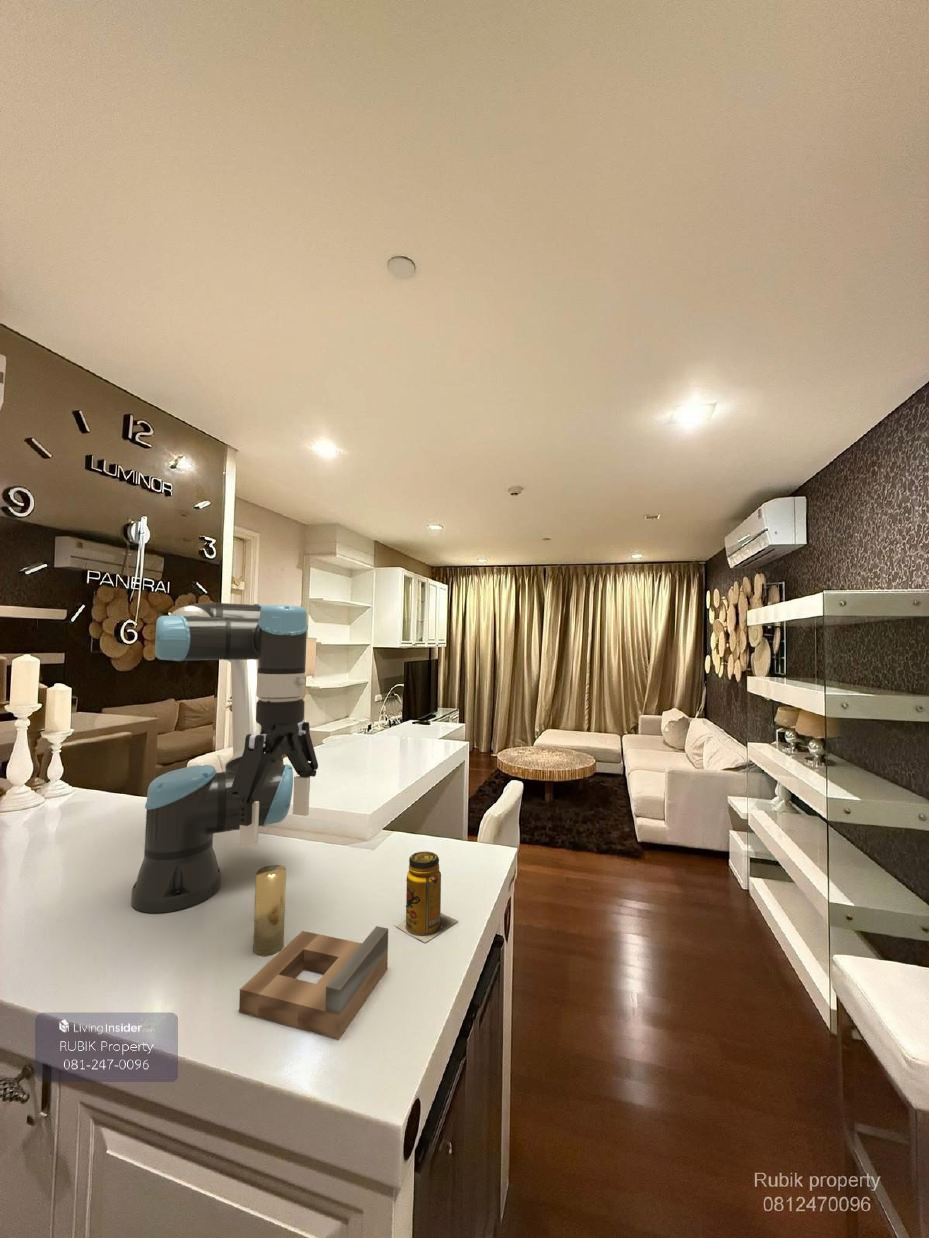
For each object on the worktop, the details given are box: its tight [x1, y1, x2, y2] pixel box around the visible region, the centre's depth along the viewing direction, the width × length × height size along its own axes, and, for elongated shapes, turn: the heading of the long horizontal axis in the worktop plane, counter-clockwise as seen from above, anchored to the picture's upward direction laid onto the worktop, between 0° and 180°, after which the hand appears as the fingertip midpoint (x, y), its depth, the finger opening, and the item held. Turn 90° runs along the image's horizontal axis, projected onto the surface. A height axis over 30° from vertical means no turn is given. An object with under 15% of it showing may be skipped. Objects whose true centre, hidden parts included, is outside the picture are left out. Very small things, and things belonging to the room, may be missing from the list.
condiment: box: [395, 851, 459, 943], centre depth 88 cm, size 7×8×12 cm
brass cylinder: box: [252, 864, 287, 957], centre depth 80 cm, size 5×5×12 cm
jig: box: [238, 925, 389, 1040], centre depth 71 cm, size 15×14×6 cm
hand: (276, 828), depth 81 cm, fingers open, 13 cm apart
